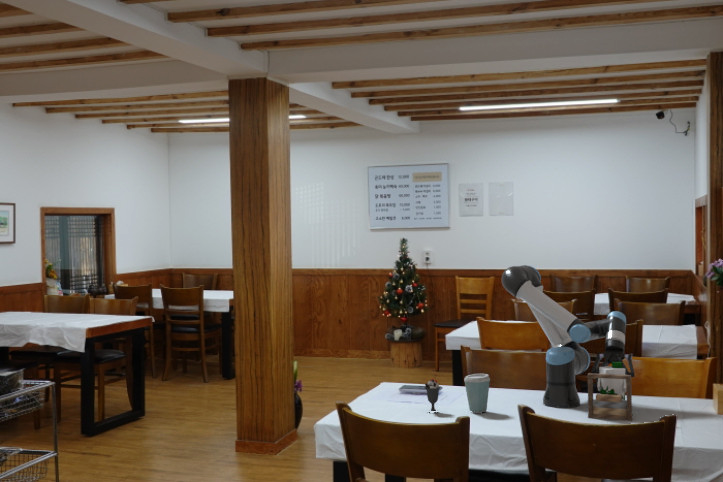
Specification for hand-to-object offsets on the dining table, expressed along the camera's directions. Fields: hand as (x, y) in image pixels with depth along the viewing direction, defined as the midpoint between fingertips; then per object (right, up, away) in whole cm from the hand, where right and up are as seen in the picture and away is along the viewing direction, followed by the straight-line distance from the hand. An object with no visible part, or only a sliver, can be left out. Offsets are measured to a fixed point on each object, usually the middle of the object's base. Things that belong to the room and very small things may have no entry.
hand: (611, 389), depth 301 cm
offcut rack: (-2, -10, -5) cm, 11 cm away
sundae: (-69, -12, +12) cm, 71 cm away
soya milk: (+2, -10, +3) cm, 11 cm away
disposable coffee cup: (-51, -11, +10) cm, 53 cm away
